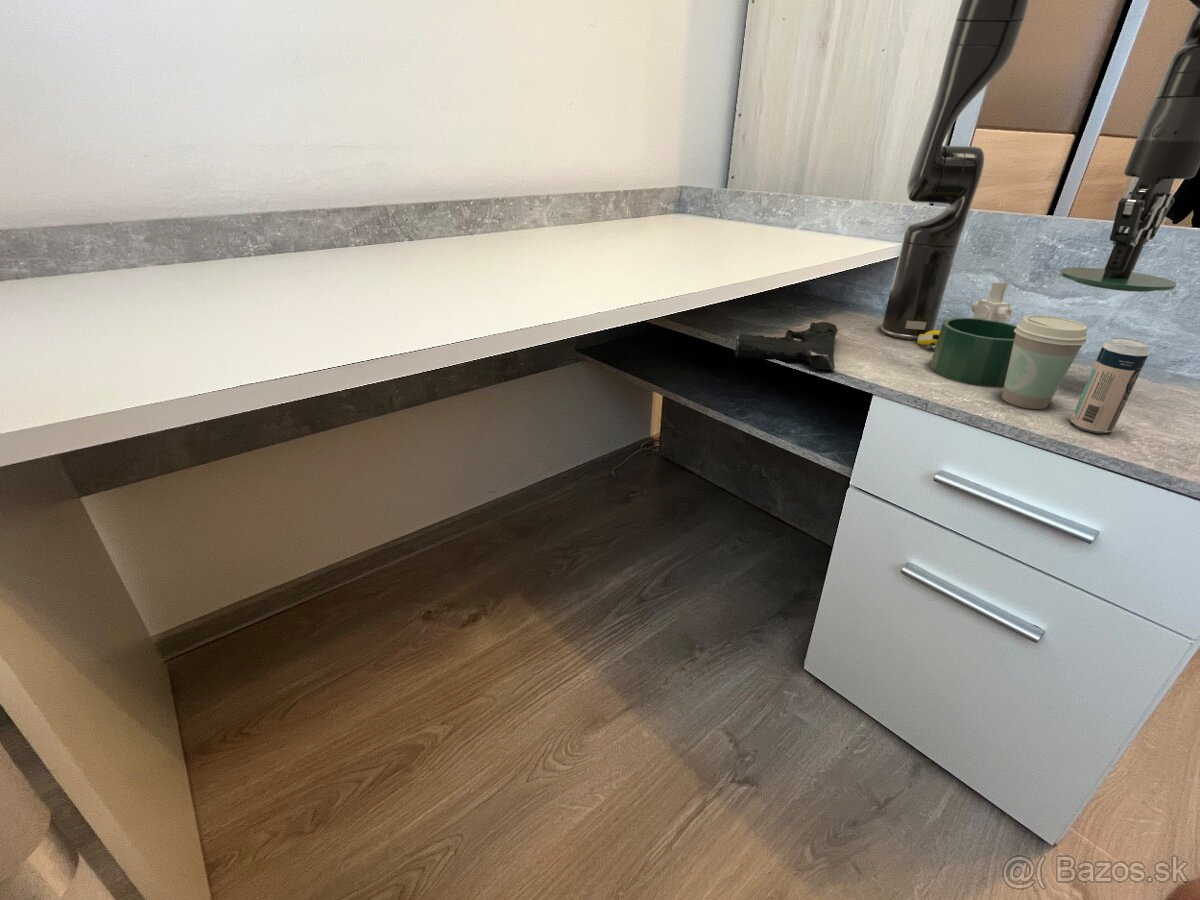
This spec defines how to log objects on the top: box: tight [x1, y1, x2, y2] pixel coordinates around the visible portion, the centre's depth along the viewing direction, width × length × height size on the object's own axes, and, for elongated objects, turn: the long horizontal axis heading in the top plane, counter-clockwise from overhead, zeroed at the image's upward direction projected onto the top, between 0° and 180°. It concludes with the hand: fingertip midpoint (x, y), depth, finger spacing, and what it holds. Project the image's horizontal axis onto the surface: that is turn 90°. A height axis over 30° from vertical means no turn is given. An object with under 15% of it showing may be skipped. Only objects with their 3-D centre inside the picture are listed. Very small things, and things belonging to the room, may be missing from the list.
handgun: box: [734, 321, 839, 370], centre depth 108 cm, size 21×17×4 cm
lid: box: [1058, 237, 1178, 293], centre depth 86 cm, size 14×14×7 cm
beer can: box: [1070, 337, 1151, 434], centre depth 79 cm, size 5×5×12 cm
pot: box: [930, 317, 1017, 387], centre depth 98 cm, size 13×13×8 cm
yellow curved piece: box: [916, 329, 941, 350], centre depth 110 cm, size 10×6×4 cm, turn 71°
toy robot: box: [970, 282, 1014, 323], centre depth 110 cm, size 4×8×12 cm, turn 17°
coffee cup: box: [1001, 314, 1088, 410], centre depth 86 cm, size 8×8×12 cm
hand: (1118, 271), depth 87 cm, fingers closed on lid, 3 cm apart
